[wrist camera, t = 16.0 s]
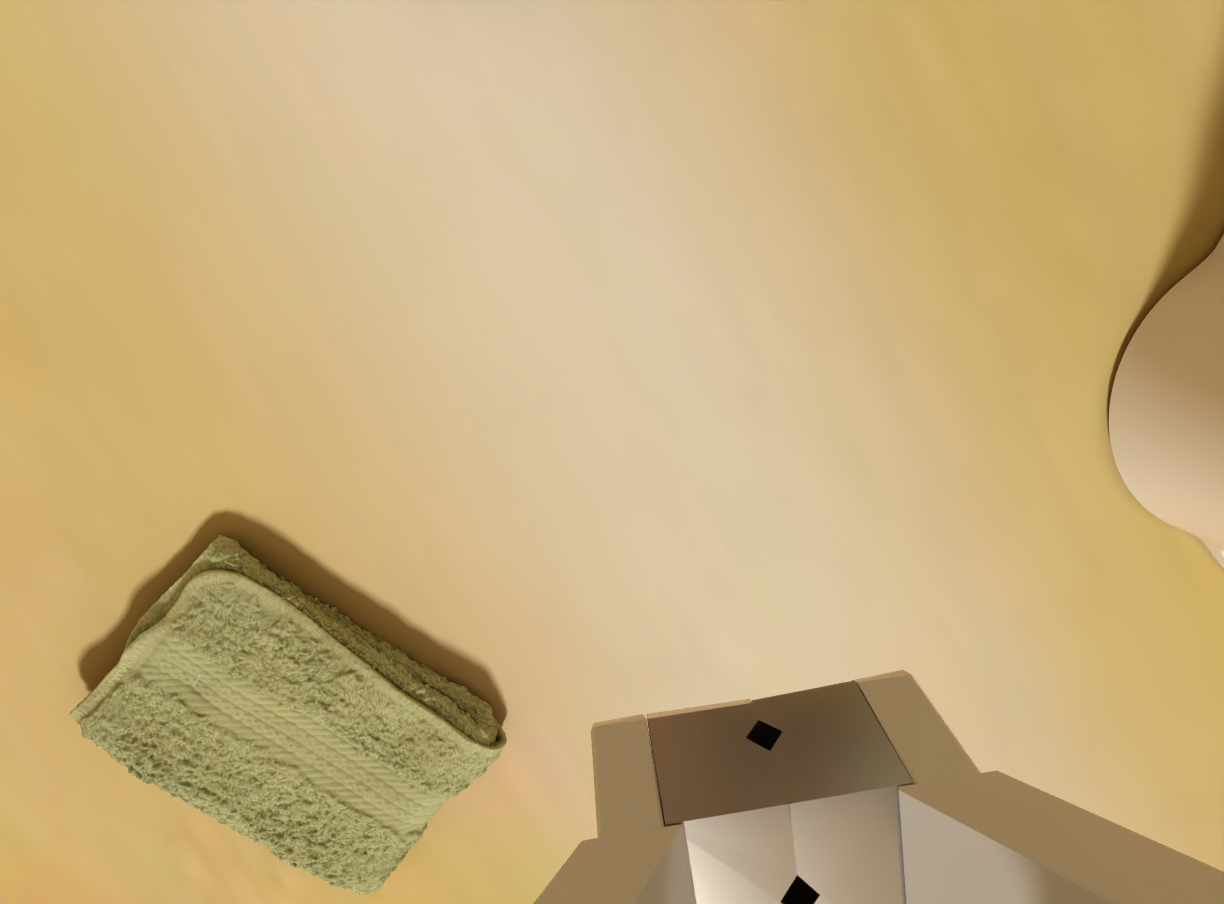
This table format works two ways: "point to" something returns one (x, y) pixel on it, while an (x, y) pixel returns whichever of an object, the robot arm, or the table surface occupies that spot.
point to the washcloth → (288, 721)
